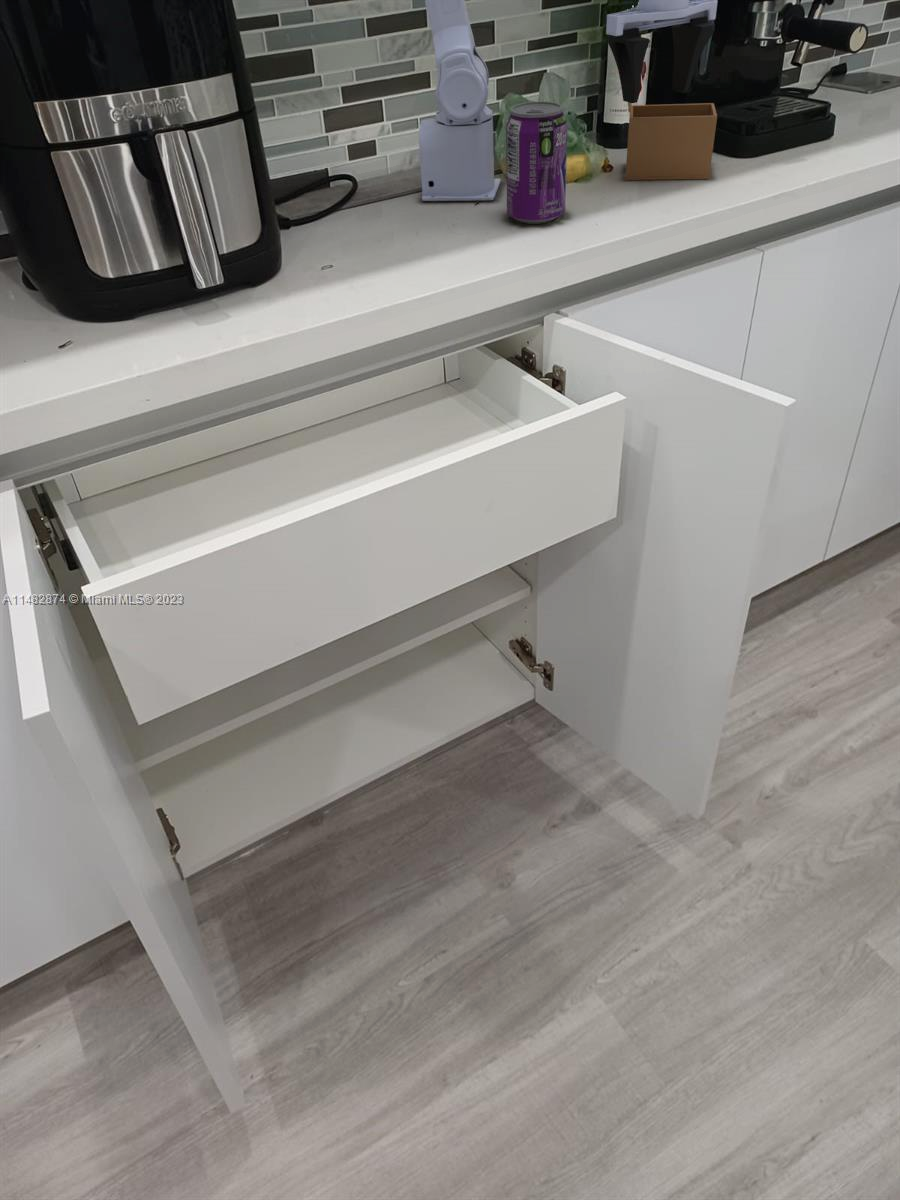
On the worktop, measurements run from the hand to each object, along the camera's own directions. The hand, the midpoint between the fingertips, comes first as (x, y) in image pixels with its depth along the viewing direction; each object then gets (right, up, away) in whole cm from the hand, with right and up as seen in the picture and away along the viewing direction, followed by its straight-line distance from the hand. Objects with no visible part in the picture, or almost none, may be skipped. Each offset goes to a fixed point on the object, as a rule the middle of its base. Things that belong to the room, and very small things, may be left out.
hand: (655, 96), depth 107 cm
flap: (-2, +4, +4) cm, 6 cm away
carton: (+4, -4, +10) cm, 12 cm away
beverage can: (-15, -15, -1) cm, 21 cm away
